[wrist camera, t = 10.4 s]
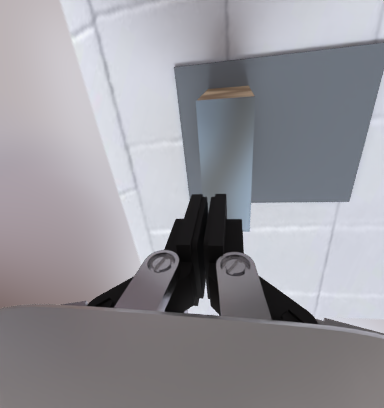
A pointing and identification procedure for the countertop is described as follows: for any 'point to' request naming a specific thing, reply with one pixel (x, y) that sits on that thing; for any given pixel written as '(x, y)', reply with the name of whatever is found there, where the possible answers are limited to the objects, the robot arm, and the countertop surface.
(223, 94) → the oak slab
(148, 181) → the countertop surface
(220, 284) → the robot arm
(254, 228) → the countertop surface
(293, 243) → the countertop surface
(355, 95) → the mat
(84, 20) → the countertop surface
